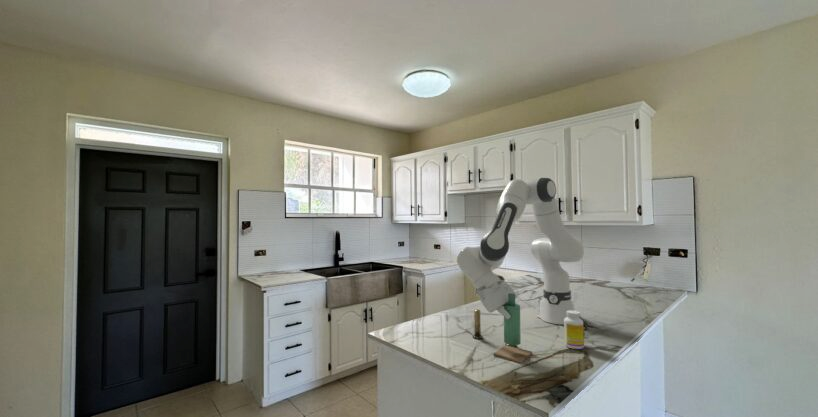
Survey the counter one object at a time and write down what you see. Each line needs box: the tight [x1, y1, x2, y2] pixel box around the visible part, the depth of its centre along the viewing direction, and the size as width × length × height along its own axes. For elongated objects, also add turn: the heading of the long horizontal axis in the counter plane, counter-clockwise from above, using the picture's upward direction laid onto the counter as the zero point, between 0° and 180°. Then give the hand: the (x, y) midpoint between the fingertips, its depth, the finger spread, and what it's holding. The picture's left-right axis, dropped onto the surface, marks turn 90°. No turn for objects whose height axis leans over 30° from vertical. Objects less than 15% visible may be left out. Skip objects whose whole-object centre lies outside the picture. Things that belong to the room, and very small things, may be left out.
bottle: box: [503, 293, 522, 346], centre depth 118 cm, size 6×6×17 cm
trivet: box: [493, 345, 533, 364], centre depth 117 cm, size 10×10×1 cm
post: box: [472, 308, 483, 340], centre depth 135 cm, size 4×4×11 cm
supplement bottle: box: [563, 310, 585, 350], centre depth 125 cm, size 7×7×13 cm
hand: (513, 315), depth 117 cm, fingers closed on bottle, 6 cm apart
